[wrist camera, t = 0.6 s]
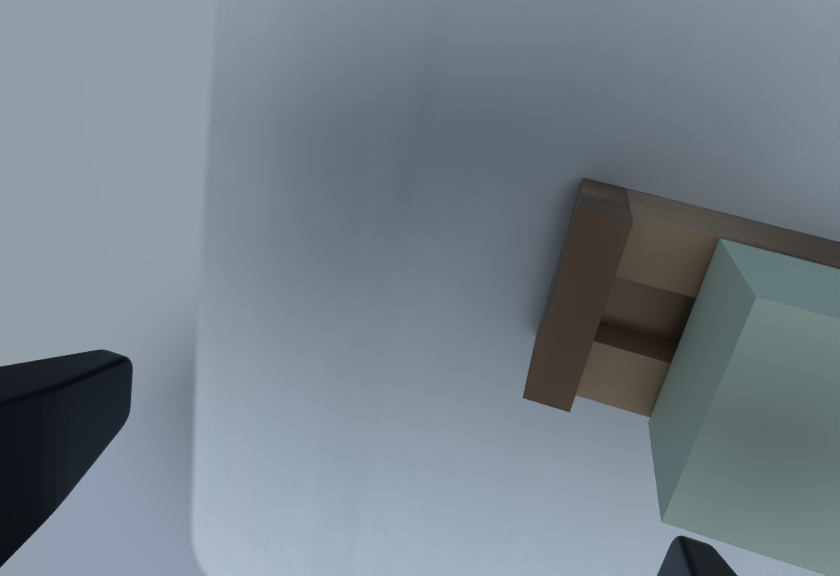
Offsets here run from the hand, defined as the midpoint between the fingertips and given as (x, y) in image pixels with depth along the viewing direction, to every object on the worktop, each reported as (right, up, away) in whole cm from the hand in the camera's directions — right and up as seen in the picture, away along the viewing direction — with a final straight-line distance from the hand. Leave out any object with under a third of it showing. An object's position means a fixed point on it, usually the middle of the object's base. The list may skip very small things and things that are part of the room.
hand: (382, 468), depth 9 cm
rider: (+9, +1, +9) cm, 13 cm away
